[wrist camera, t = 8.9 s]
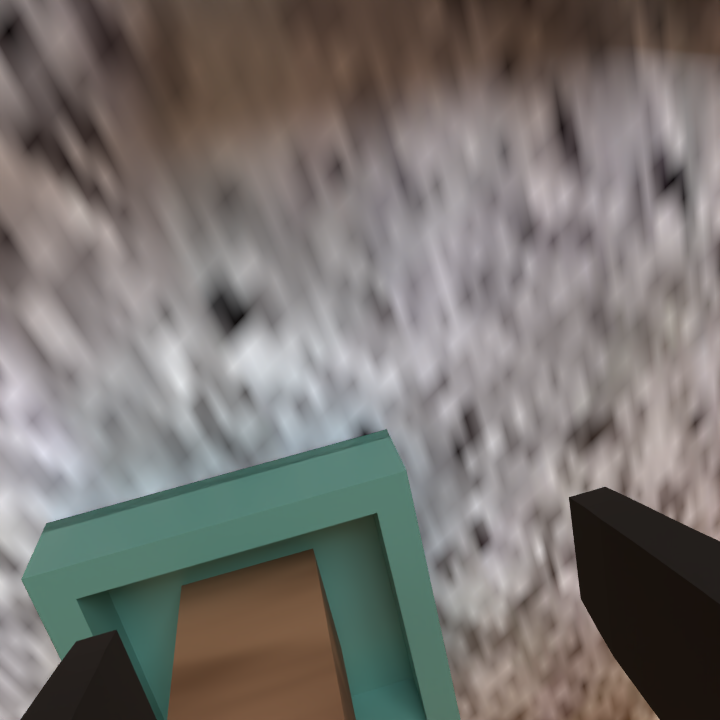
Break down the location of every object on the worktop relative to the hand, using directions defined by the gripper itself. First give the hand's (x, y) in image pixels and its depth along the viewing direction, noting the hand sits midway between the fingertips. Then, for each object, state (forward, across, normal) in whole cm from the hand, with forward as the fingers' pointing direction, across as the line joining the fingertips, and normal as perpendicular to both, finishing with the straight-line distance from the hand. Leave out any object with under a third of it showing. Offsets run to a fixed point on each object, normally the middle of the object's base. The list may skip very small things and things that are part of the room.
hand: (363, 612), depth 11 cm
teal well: (+9, +3, +7) cm, 12 cm away
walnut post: (+9, +3, +7) cm, 12 cm away
